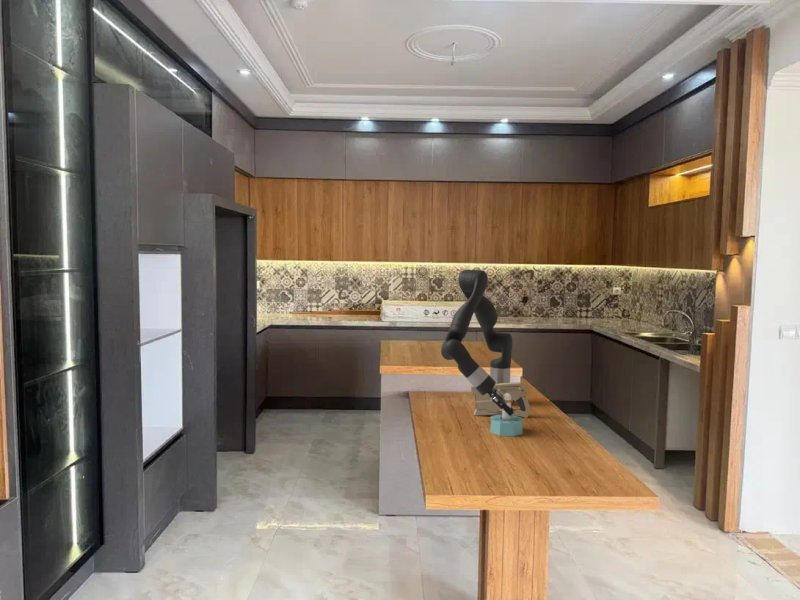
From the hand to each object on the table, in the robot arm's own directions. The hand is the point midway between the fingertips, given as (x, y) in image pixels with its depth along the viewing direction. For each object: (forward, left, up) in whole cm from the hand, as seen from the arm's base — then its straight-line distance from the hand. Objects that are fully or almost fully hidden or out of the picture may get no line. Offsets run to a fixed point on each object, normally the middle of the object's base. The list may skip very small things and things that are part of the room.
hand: (511, 412), depth 221 cm
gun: (-22, -4, -8) cm, 24 cm away
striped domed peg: (0, -2, -5) cm, 5 cm away
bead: (0, -2, -7) cm, 8 cm away
